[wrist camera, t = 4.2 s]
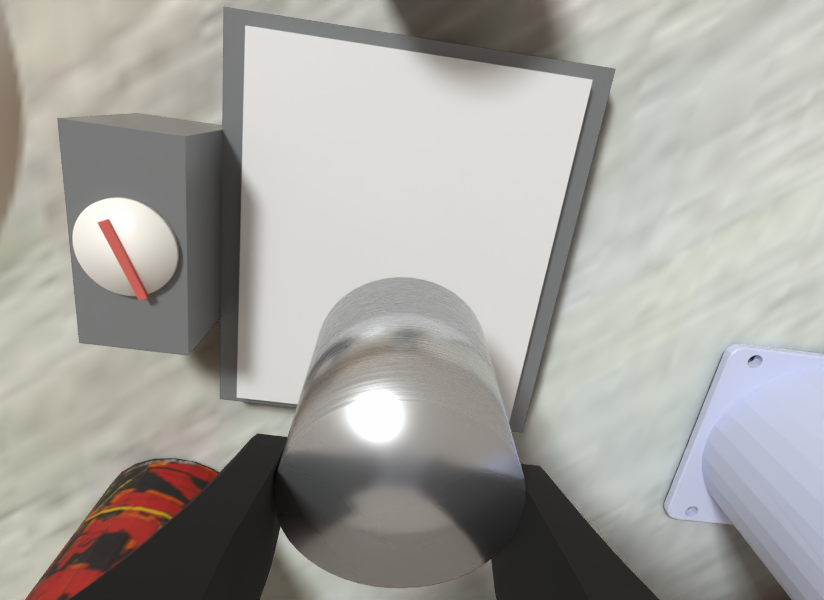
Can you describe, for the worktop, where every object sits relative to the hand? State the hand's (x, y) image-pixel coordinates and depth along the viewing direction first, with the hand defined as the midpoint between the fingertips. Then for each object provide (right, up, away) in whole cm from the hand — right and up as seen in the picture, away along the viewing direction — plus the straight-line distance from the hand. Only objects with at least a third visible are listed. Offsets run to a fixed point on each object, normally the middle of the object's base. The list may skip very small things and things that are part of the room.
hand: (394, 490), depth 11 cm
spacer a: (0, +2, +3) cm, 4 cm away
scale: (-2, +6, +7) cm, 10 cm away
